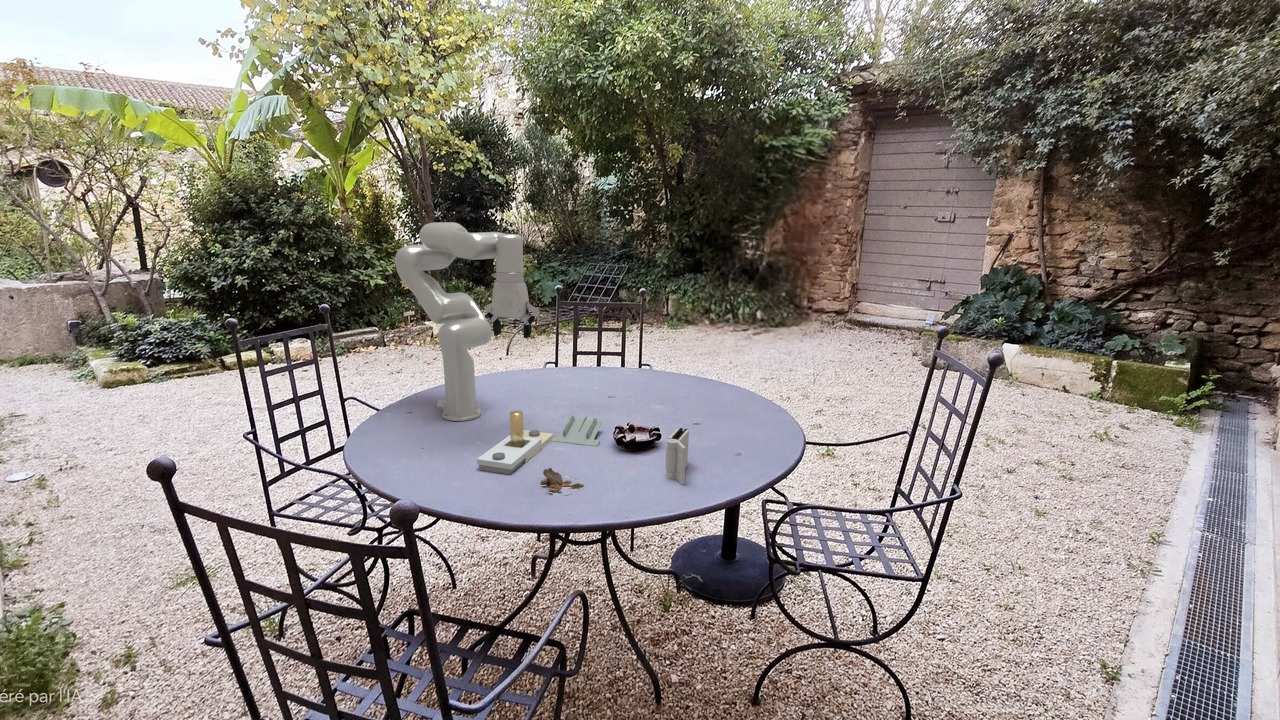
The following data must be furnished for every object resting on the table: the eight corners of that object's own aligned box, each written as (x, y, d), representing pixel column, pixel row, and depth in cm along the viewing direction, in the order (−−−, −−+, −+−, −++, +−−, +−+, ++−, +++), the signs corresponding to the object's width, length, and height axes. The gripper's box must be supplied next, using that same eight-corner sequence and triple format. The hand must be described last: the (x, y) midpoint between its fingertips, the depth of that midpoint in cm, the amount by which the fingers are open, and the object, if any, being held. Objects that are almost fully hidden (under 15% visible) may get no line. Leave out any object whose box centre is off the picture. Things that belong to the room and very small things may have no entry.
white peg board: (511, 474, 152) (511, 461, 151) (477, 469, 155) (476, 456, 154) (553, 438, 176) (553, 426, 175) (523, 434, 179) (522, 422, 178)
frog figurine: (524, 488, 146) (523, 474, 145) (560, 473, 155) (560, 459, 154) (554, 504, 138) (554, 489, 138) (591, 487, 147) (591, 473, 146)
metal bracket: (563, 410, 184) (609, 415, 181) (565, 425, 187) (610, 430, 184) (546, 438, 172) (595, 444, 169) (549, 454, 175) (596, 459, 172)
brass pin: (508, 454, 164) (507, 414, 161) (515, 449, 168) (513, 410, 165) (520, 456, 163) (519, 415, 160) (526, 451, 167) (525, 411, 164)
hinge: (684, 485, 148) (685, 448, 146) (663, 483, 149) (664, 446, 146) (688, 462, 162) (689, 428, 159) (668, 460, 162) (669, 426, 160)
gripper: (476, 277, 167) (479, 336, 172) (531, 281, 163) (533, 341, 167) (490, 275, 174) (492, 331, 179) (543, 278, 170) (544, 336, 174)
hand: (512, 336), depth 173 cm, fingers open, 9 cm apart
